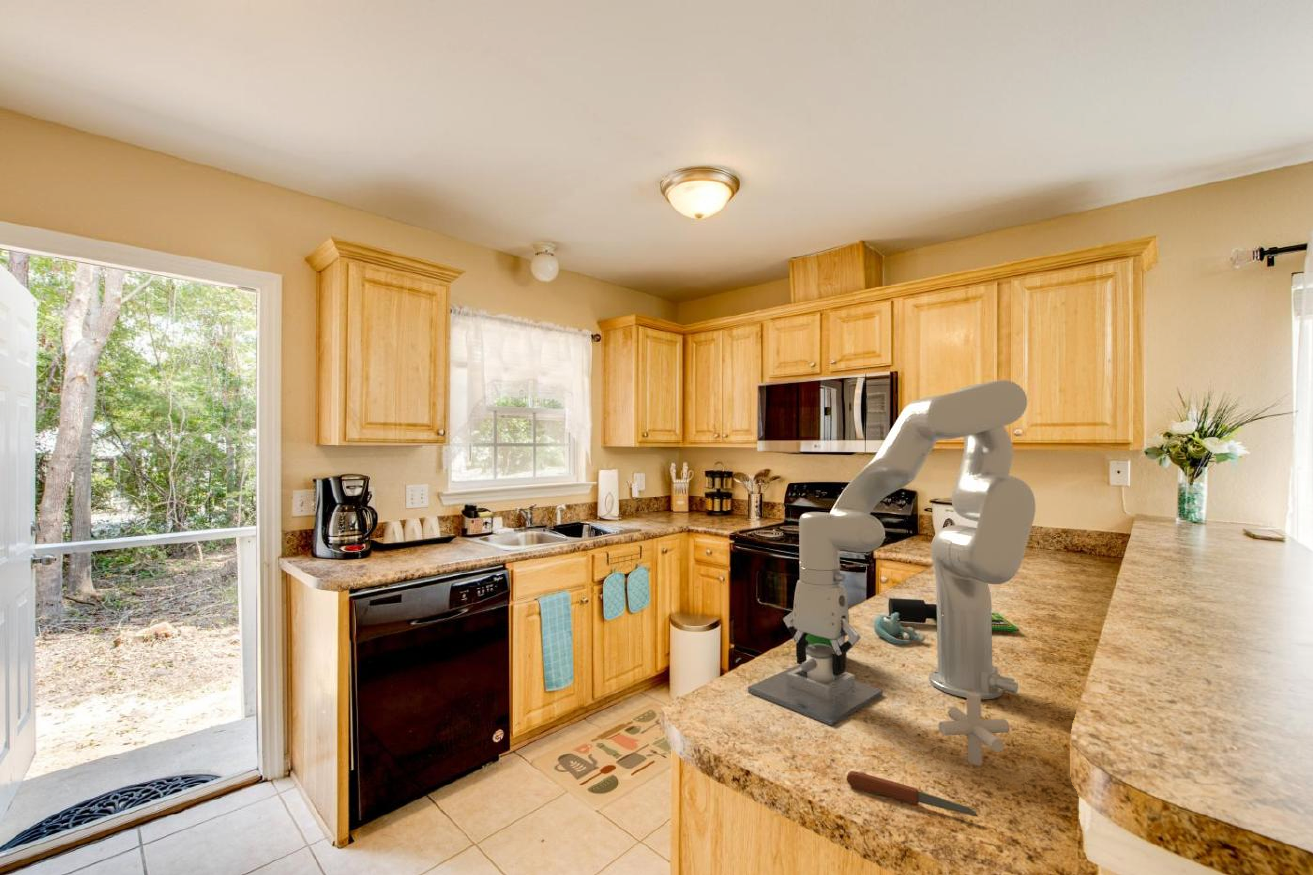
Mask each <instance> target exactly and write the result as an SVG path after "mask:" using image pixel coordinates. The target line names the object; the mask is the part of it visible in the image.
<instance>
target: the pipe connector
mask: <svg viewBox="0 0 1313 875" xmlns="http://www.w3.org/2000/svg"><path fill="white" fill-rule="evenodd" d="M981 700H982V699H981V695H980V694H979V693H977V692H972V691H968V692H967V698H966V713H965V712H963V711H962V710H961V709H959V708H958V707H956V706H951V707H950V708H948V712H947V714H948V717H949V718H951V719H952V720H949V721H947V720H946V721H939V722H938V730H939V732H940V734H941V735H942V736H961V735H967V762H969V764H971V765H974V766H982V765H983V754H982V753H983V751H982V749H983V748H982V747H983V746H982V743H983V744H984V745H986V746H987V747H988V748H990V749H991V750H992V751H994V752H996V753H999V752H1001V751H1003V749H1004V745H1005V744H1004V741H1002V740H1001V739H1000V738H999V737H997V736H996V735H995V734H1003V733H1004V734H1006V733H1010V729H1011V728H1010V724H1009V722H1008V720H1006V719H1004V718H997V719H996V718H995V719H993V718H992V719H982V708H981V707H982V704H981V703H982V702H981Z"/></svg>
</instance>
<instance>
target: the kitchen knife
mask: <svg viewBox="0 0 1313 875" xmlns="http://www.w3.org/2000/svg"><path fill="white" fill-rule="evenodd" d="M846 781H847V782H846V783H848V784H849V785H850V786H851V787H852V788H854V789H856V788H857V790H859V789H860V790H859V791H863V790H864V791H863V792H867V791H868V793H871V792H872V794H875V793H876V795H880V796H884V797H885V796H886V797H889V798H893V799H897V800H900V801H903V802H906V803H908V804H910V805H913V806H918V805H919V803H921V804H925V805H928V806H931V807H936V808H939V809H942V810H943V809H944V810H948V811H950V812H955V813H960V814H964V815H967V816H968V815H969V816H972V817H978V816H979V814H977V812H975V811H974V810H973V808H971V807H969V806H967V805H963V804H960V803H957V802H954V801H950V800H947V799H945V798H942V797H938V796H935V795H932V794H929V793H927V792H926V793H925V792H923V791H919V790H918V788H916V787H913V786H910V785H906V784H903V783H899V782H895V781H893V780H892V781H891V780H888V779H884V778H880V777H878V776H874V775H870V774H867V773H864V772H859V771H856V770H851V771H849V772H848V773H847V775H846Z"/></svg>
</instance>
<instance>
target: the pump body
mask: <svg viewBox="0 0 1313 875" xmlns="http://www.w3.org/2000/svg"><path fill="white" fill-rule="evenodd" d="M805 649H806V661H805V662H803V663H802V664H801V667H802V669H803V671H805V672H807V678H808V679H811V680H814V681H817V682H820V683H823V684H826V685H828V684H830V683H832V682H834V681H835V676H834V675H833V654H835V652H834V648H833V647H831V646H829V645H825V644H810V645H807V646H806V648H805Z"/></svg>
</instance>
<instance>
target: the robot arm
mask: <svg viewBox="0 0 1313 875" xmlns="http://www.w3.org/2000/svg"><path fill="white" fill-rule="evenodd" d="M1027 406H1028V397H1027V394H1026V392H1025V390H1024V389H1023V388H1022V387H1021V386H1020V385H1019V384H1017V383H1016V382H1015V381H1014V382H1013V381H1011V380H1006V379H998V380H994V381H993V380H992V381H988V382H983V383H977V384H972V385H967V386H964V387H961V388H958V389H957V390H955V391H953V392H950V393H946V394H945V393H944V394H940V395H934V396H930V397H929V396H927V397H923V398H920V399H916V400H913V401H911V402H909V403H908V404H907V405H906V406H905V407H904V408H903V410H902V411H901V413H900V414H899V416H898V417H897V419H896V420H895V422H894V424H893V425H892V427H891V429H890V431H889V432H888V434H887V435H886V437H885V438H884V441H883V442H882V444H881V445H880V447H879V449H878V450H877V452H876V454H875V455H874V456H873V458H872V460H870V462H869V463H868V464H866V465H865V466H864V467H863V468H862V469H861V471H859V473H858V474H857V475H856V476H855V477H854V478H853V479H851V480H850V482H849V483H848V484H847V485H846V487H845V488H844V489H843V490H842V492H841V494H839V496H838V498H837V499H836V501H835V503H834V505H833V507H832V508H831V509H830V512H821V511H810V512H804V513H802V514H801V515H800V517H799V521H798V535H799V537H798V538H799V539H798V540H799V542H798V543H799V544H798V548H799V551H798V552H799V579H798V580H797V582H796V586H795V590H794V599H793V609H792V611H791V612H790V613H788V614H787V615H786V616H784V617H783V619H782V620H783V622H784V623H785V625H786V627H787V629H788V632H789V633H790V635H791V637H792V640H793V642H794V643H795V656H796V663H797V665H799V664H802V663H803V662H805V661H806V649H805V648H806V646H807V645H809V642H808V640H806V637H807V636H808V634H811V635H814V636H818V637H822V638H826V639H829V640H830V641H831V643H832V646H833V648H834V650H835V654H833V675H834V676H838V675H840V674H842V673H844V672H846V666H847V654H846V652H849V650H851V649H853V647H854V646H855V645H856V644H857V643H858V641H859V640H861V635H860V633H859V632H858V631H857V630H856V629H855V628H854V627H853V626H852V625H851V623H850V614H849V613H850V612H849V605H848V604H849V603H848V599H847V592H846V590H845V586H844V584H840V583H841V582H845V581H846V574H843V573H842V572H841V568H840V551H848V552H849V551H850V552H858V553H868V552H873V551H875V550H877V549H879V548H880V547H881V546H882V544H883V543H884V540H885V536H886V531H885V527H884V525H883V523H882V522H881V521H880V520H879V519H878V518H877V517H876V516H874V515H872V514H871V513H872V511H873V510H874V509H875V508H876V506H877V505H878V504H879V503H880V502H881V501H882V500H884V499H885V498H886V497H887V496H889V495H891V494H893V493H894V492H896V491H899V490H900V489H903V488H905V487H906V486H908V485H910V484H911V483H912V482H913V481H915V479H916V478H917V476H918V474H919V472H920V471H921V469H922V467H923V465H924V464H925V463H926V460H927V458H928V457H929V456H930V454H931V452H932V450H933V449H934V447H935V445H936V444H937V442H938V441H944V440H955V439H959V438H962V439H963V444H964V448H963V449H964V450H963V455H962V459H961V464H960V466H959V471H958V473H957V477H956V481H955V485H954V488H953V491H952V496H951V504H952V508H953V510H954V512H955V513H956V514H957V515H958V516H960V517H962V518H964V519H967V520H969V521H974V522H977V524H976V527H973V526H969V525H960V524H954V525H953V524H952V525H949V526H948V525H947V526H945V527H942V528H941V529H939V530H938V531H937V532H935V535H934V536H933V538H932V540H931V544H930V553H931V554H930V555H931V561H932V566H933V570H934V576H935V589H936V604H937V623H936V625H937V626H936V633H937V634H936V635H937V636H936V639H937V640H936V642H937V644H936V645H937V648H936V649H937V669H935V670H932V671H931V672H930V673H929V677H928V679H929V680H928V681H929V682H930V684H931V685H932V686H933V687H935V688H936V689H938V690H940V691H941V692H945V693H947V694H950V695H953V696H957V697H961V698H964V699H965V698H966V699H967V692H968V691H972V692H977V693H979V694H980V695H981V700H992V699H993V700H994V699H997V698H999V697H1001V696H1002V694H1003V691H1006V692H1009V693H1012V694H1017V693H1018V690H1019V684H1018V682H1016V681H1015V678H1011V677H1009V676H1003V675H1001V674H1000V673H999V670H998V668H999V667H998V666H997V665H993V637H992V636H993V630H992V620H991V613H992V596H991V591H990V586H989V585H1002V584H1005V583H1008V582H1009V581H1010V580H1013V578H1014V577H1015V576H1016V574H1018V571H1019V569H1020V568H1021V565H1022V562H1023V559H1024V557H1025V556H1024V555H1025V552H1026V549H1027V545H1028V542H1029V539H1030V534H1031V531H1032V527H1033V524H1034V520H1035V515H1036V499H1035V496H1034V493H1033V490H1032V488H1031V487H1030V486H1029V485H1028V483H1026V482H1025V481H1024V480H1023V479H1020V478H1019V477H1016V476H1011V475H1010V472H1011V468H1012V462H1013V457H1014V446H1013V442H1012V439H1011V437H1010V434H1009V433H1008V431H1007V429H1006V427H1005V426H1009V425H1011V424H1013V423H1015V422H1017V421H1018V420H1019V419H1021V417H1023V415H1024V414H1025V411H1026V409H1027ZM843 636H845V637H846V636H847V637H848V639H847V640H846V639H845V640H844V638H843Z"/></svg>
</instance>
